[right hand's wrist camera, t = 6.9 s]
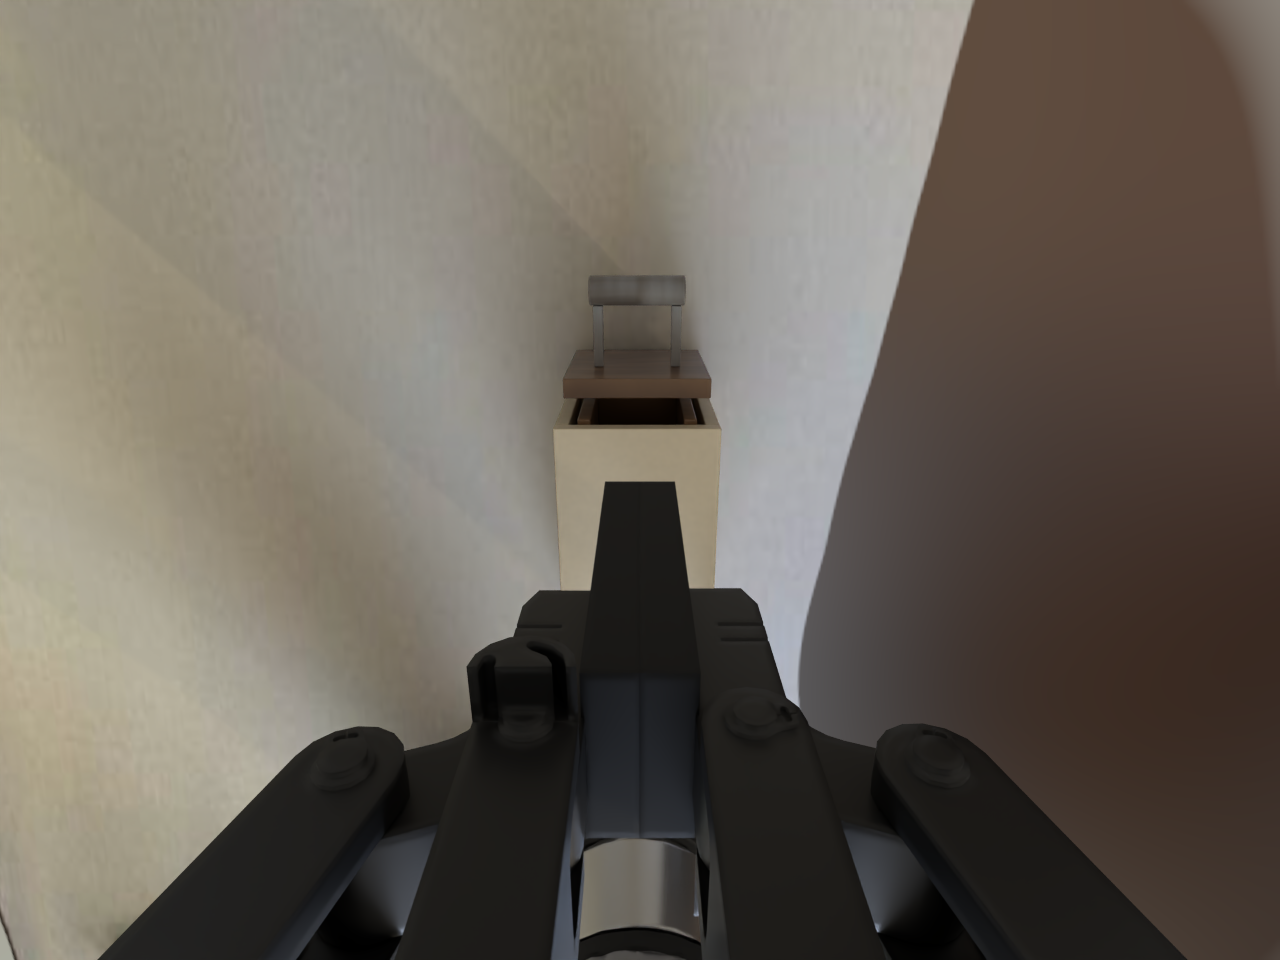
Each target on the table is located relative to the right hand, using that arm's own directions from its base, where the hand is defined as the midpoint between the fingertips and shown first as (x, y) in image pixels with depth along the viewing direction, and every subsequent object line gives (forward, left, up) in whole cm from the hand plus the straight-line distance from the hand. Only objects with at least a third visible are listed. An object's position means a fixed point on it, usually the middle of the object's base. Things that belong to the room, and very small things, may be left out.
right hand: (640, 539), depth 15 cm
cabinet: (+14, +4, -37) cm, 40 cm away
